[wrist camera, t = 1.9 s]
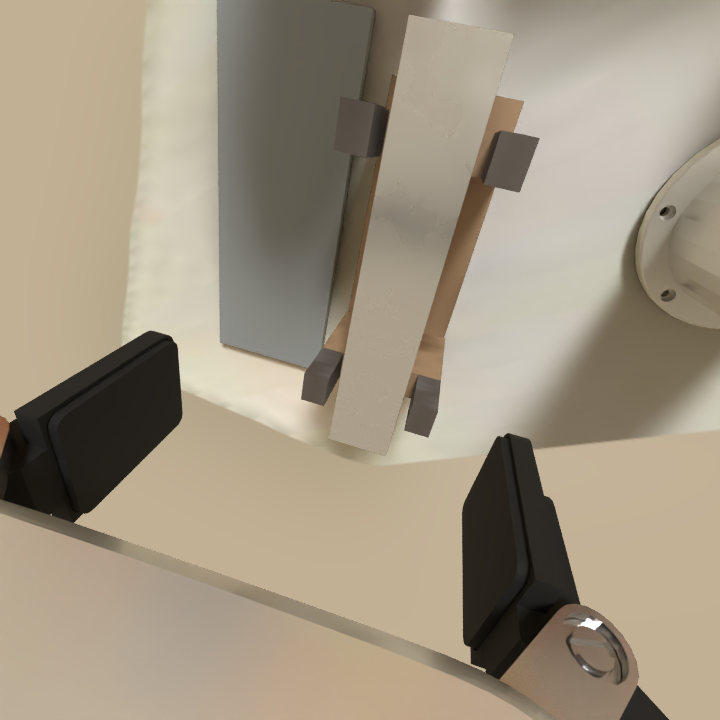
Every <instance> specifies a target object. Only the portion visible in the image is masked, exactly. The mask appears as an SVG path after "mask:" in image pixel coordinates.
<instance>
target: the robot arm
mask: <svg viewBox="0 0 720 720" xmlns="http://www.w3.org/2000/svg"><path fill="white" fill-rule="evenodd" d="M664 207H665V208H666V211H665V212H664V214H662V215H659V214H660V211H661V210H662V209H663V208H664ZM635 260H636V270H637V273H638V277H639V280H640V283H641V285H642V286H643V288H644V290H645V291H646V293H647V295H648V296H649V297H650V298H651V299H652V300H653V301H654V302H655V303H656V304H657V305H658V306H659V307H660V308H661V309H663V310H664V311H666V312H667V313H668V314H670V315H671V316H673V317H675V318H677V319H679V320H681V321H683V322H685V323H688V324H692V325H696V326H700V327H704V328H714V329H720V138H719V139H717V140H716V141H714V142H713V143H711V144H710V145H708V146H707V147H706V148H704V149H703V150H701V151H700V152H698V153H697V154H696V155H694V156H693V157H692V158H691V159H690V160H688V161H687V162H686V163H685V164H684V165H683V166H682V167H681V168H680V169H679V170H678V171H676V172H675V173H674V174H673V175H672V177H671V178H670V179H669V180H668V181H667V183H666V184H665V185H664V186H663V187H662V189H661V190H660V191H659V192H658V194H657V195H656V197H655V199H654V200H653V202H652V204H651V205H650V207H649V209H648V210H647V212H646V214H645V217H644V219H643V222H642V224H641V227H640V229H639V232H638V237H637V243H636V248H635ZM664 291H666V292H665V293H664V294H662V293H663V292H664ZM14 413H15V415H16V418H17V419H15V420H13V421H12V422H10V423H9V422H8V421H7V420H6V418H4V417H1V416H0V720H669V719H668V718H667V717H666V716H665V715H664V714H663V713H662V712H661V710H660V709H659V708H658V707H657V706H656V705H655V704H654V703H653V702H652V701H651V700H650V699H649V697H648V696H647V695H646V694H645V693H644V692H643V691H642V690H641V689H640V688H639V686H638V685H637V683H638V678H639V675H638V674H639V673H638V667H637V662H636V659H635V657H634V654H633V652H632V649H631V648H630V646H629V645H628V643H627V641H626V640H625V638H624V637H623V635H622V634H621V633H620V632H619V631H618V630H617V628H616V627H615V626H614V625H613V624H612V623H611V622H610V621H609V620H607V619H606V618H605V617H604V616H602V615H601V614H600V613H598V612H596V611H595V610H593V609H591V608H589V607H587V606H583V605H580V601H579V597H578V594H577V590H576V586H575V582H574V578H573V575H572V571H571V567H570V563H569V559H568V556H567V552H566V548H565V545H564V541H563V537H562V533H561V529H560V526H559V522H558V518H557V514H556V510H555V506H554V504H553V501H552V500H551V499H550V498H549V497H546V496H544V494H543V490H542V487H541V482H540V477H539V473H538V469H537V465H536V461H535V457H534V453H533V448H532V444H531V441H530V440H529V439H527V438H523V437H520V436H516V435H513V434H509V433H507V434H506V435H505V436H504V437H500V436H498V437H497V438H496V439H495V441H494V443H493V445H492V447H491V449H490V451H489V453H488V455H487V458H486V460H485V462H484V464H483V466H482V468H481V470H480V472H479V474H478V476H477V478H476V480H475V482H474V484H473V486H472V488H471V490H470V492H469V494H468V496H467V498H466V500H465V502H464V506H463V511H462V549H463V550H462V552H463V553H462V554H463V639H464V644H465V645H466V646H469V647H471V664H473V665H476V666H479V667H481V668H485V669H486V673H485V672H483V671H481V670H479V669H477V668H474V667H472V666H470V665H467V664H465V663H463V662H460V661H458V660H456V659H453V658H451V657H448V656H446V655H444V654H441V653H439V652H436V651H433V650H430V649H428V648H425V647H423V646H420V645H417V644H415V643H412V642H409V641H407V640H404V639H401V638H399V637H396V636H393V635H391V634H388V633H385V632H383V631H380V630H378V629H375V628H372V627H369V626H366V625H364V624H361V623H358V622H355V621H352V620H349V619H347V618H344V617H341V616H338V615H336V614H333V613H330V612H327V611H324V610H321V609H319V608H316V607H313V606H310V605H307V604H305V603H302V602H299V601H296V600H293V599H290V598H288V597H285V596H282V595H279V594H276V593H274V592H271V591H268V590H265V589H262V588H259V587H257V586H254V585H251V584H248V583H245V582H242V581H239V580H237V579H234V578H231V577H228V576H225V575H222V574H219V573H216V572H214V571H211V570H208V569H205V568H202V567H199V566H196V565H193V564H190V563H188V562H185V561H182V560H179V559H176V558H173V557H171V556H168V555H165V554H162V553H159V552H156V551H153V550H151V549H148V548H145V547H142V546H139V545H136V544H133V543H130V542H127V541H124V540H121V539H118V538H116V537H113V536H110V535H107V534H104V533H101V532H98V531H95V530H92V529H89V528H86V527H83V526H80V525H77V524H75V523H74V522H75V521H76V520H77V519H78V518H79V517H80V516H81V515H82V514H83V513H84V514H85V513H89V512H90V511H92V510H93V509H94V508H95V507H96V506H97V505H98V504H99V503H100V502H101V501H102V500H103V499H104V498H105V497H106V496H107V495H108V494H109V493H110V492H111V491H112V490H113V489H114V488H115V487H116V486H117V485H118V484H119V483H120V482H121V481H122V480H123V479H124V478H125V477H126V476H127V475H128V474H129V473H130V472H131V471H132V470H133V469H134V468H135V467H136V466H137V465H138V464H139V463H140V462H141V461H142V460H143V459H144V458H145V457H146V456H147V455H148V454H149V453H150V452H151V451H152V450H153V449H154V448H155V447H156V446H157V445H158V444H159V443H160V442H161V441H162V440H163V439H164V438H165V437H166V436H167V435H168V434H169V433H170V432H171V431H172V430H173V429H174V428H175V427H176V426H177V425H178V424H179V422H180V421H181V418H182V401H181V387H180V373H179V360H178V347H177V344H176V343H175V342H174V341H173V339H172V337H171V336H169V335H165V334H162V333H158V332H155V331H148V332H146V333H144V334H142V335H141V336H139V337H137V338H136V339H134V340H132V341H131V342H129V343H127V344H126V345H124V346H122V347H120V348H119V349H117V350H115V351H114V352H112V353H110V354H109V355H107V356H105V357H104V358H102V359H100V360H99V361H97V362H95V363H94V364H92V365H90V366H89V367H87V368H85V369H84V370H82V371H80V372H79V373H77V374H75V375H74V376H72V377H70V378H69V379H67V380H65V381H64V382H62V383H60V384H59V385H57V386H55V387H54V388H52V389H50V390H49V391H47V392H45V393H44V394H42V395H40V396H38V397H37V398H35V399H34V400H32V401H30V402H28V403H27V404H25V405H24V406H22V407H20V408H19V409H17V410H15V411H14ZM50 514H52V516H51V515H50Z"/></svg>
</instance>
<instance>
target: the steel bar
mask: <svg viewBox="0 0 720 720" xmlns="http://www.w3.org/2000/svg"><path fill="white" fill-rule="evenodd" d="M513 37H514V34H513V33H507V32H502V31H497V30H491V29H486V28H480V27H475V26H469V25H464V24H458V23H453V22H447V21H442V20H436V19H431V18H425V17H420V16H414V15H409V17H408V22H407V27H406V33H405V38H404V43H403V49H402V54H401V59H400V64H399V70H398V75H397V80H396V86H395V91H394V96H393V101H392V107H391V112H390V117H389V122H388V128H387V133H386V138H385V144H384V149H383V154H382V159H381V165H380V170H379V175H378V180H377V186H376V191H375V196H374V202H373V207H372V212H371V217H370V223H369V228H368V233H367V239H366V244H365V249H364V254H363V260H362V265H361V270H360V275H359V281H358V286H357V291H356V297H355V302H354V307H353V312H352V318H351V323H350V328H349V334H348V339H347V344H346V349H345V355H344V360H343V365H342V370H341V376H340V381H339V386H338V392H337V397H336V402H335V407H334V413H333V418H332V423H331V428H330V434H329V439H331V440H334V441H338V442H341V443H344V444H347V445H351V446H354V447H357V448H360V449H363V450H367V451H370V452H373V453H376V454H379V455H383V456H386V454H387V450H388V447H389V444H390V440H391V437H392V434H393V431H394V427H395V424H396V421H397V418H398V414H399V411H400V408H401V404H402V401H403V398H404V395H405V391H406V388H407V385H408V381H409V378H410V375H411V372H412V368H413V365H414V362H415V358H416V355H417V352H418V349H419V345H420V342H421V339H422V335H423V332H424V329H425V326H426V322H427V319H428V316H429V313H430V309H431V306H432V303H433V299H434V296H435V293H436V290H437V286H438V283H439V280H440V276H441V273H442V270H443V267H444V263H445V260H446V257H447V253H448V250H449V247H450V244H451V240H452V237H453V234H454V230H455V227H456V224H457V221H458V217H459V214H460V211H461V208H462V204H463V201H464V198H465V194H466V191H467V188H468V185H469V181H470V178H471V175H472V171H473V168H474V165H475V162H476V158H477V155H478V152H479V148H480V145H481V142H482V139H483V135H484V132H485V129H486V125H487V122H488V119H489V116H490V112H491V109H492V106H493V103H494V99H495V96H496V93H497V89H498V86H499V83H500V80H501V76H502V73H503V70H504V66H505V63H506V60H507V57H508V53H509V50H510V47H511V43H512V40H513Z"/></svg>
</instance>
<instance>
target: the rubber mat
mask: <svg viewBox="0 0 720 720" xmlns="http://www.w3.org/2000/svg"><path fill="white" fill-rule="evenodd" d="M374 17H375V11H374V9H373V8H370V7H364V6H359V5H353V4H348V3H342V2H337V1H331V0H217V58H218V170H219V281H220V343H223V344H227V345H230V346H234V347H237V348H241V349H244V350H247V351H251V352H254V353H258V354H261V355H264V356H268V357H271V358H275V359H278V360H282V361H285V362H288V363H292V364H295V365H299V366H302V367H306V368H309V366H310V365H311V363H312V362H313V360H314V359H315V358H316V356H317V355H318V353H319V352H320V350H321V349H322V347H323V346H324V341H325V335H326V328H327V322H328V315H329V309H330V302H331V296H332V289H333V283H334V276H335V270H336V263H337V257H338V250H339V244H340V237H341V231H342V224H343V218H344V212H345V205H346V199H347V192H348V186H349V179H350V173H351V166H352V160H353V155H351V154H347V153H343V152H338V151H334V142H335V134H336V127H337V119H338V111H339V103H340V96H341V97H346V98H350V99H355V100H360V101H362V95H363V88H364V82H365V75H366V69H367V62H368V56H369V49H370V43H371V36H372V30H373V24H374Z"/></svg>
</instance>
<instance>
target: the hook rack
mask: <svg viewBox="0 0 720 720" xmlns="http://www.w3.org/2000/svg"><path fill="white" fill-rule="evenodd" d="M396 80H397V76H395V75H392V78H391V84H390V89H389V95H388V100H387V106H386V108H384V107H381V106H379V105H377V104H374V103H369V102H365V101H360V100H355V99H350V98H346V97H341V96H340V103H339V111H338V119H337V127H336V134H335V142H334V151H338V152H343V153H347V154H351V155H356V156H360V157H365V158H368V157H376V156H377V160H376V165H375V171H374V176H373V182H372V187H371V193H370V198H369V204H368V209H367V214H366V220H365V225H364V231H363V236H362V242H361V247H360V253H359V258H358V263H357V269H356V274H355V280H354V285H353V291H352V296H351V302H350V307H349V312H347V313H346V315H345V316H344V317H343V319H342V320H341V322H340V323H339V325H338V326H337V327H336V329H335V330H334V332H333V333H332V335H331V336H330V337H329V339H328V340H327V342H326V343H325V345H324V346H323V347H322V349H321V350H320V352H319V353H318V355H317V356H316V358H315V359H314V360H313V362H312V363H311V365H310V366H309V368H308V369H307V370H306V372H305V374H304V381H303V389H302V397H301V399H302V400H306V401H309V402H312V403H315V404H319V405H322V406H324V405H325V403H326V401H327V399H328V397H329V395H330V393H331V392H332V390H333V388H334V386H335V384H336V382H337V380H338V379H339V377H340V376H341V370H342V365H343V360H344V355H345V349H346V344H347V339H348V334H349V328H350V323H351V318H352V312H353V307H354V302H355V297H356V291H357V286H358V281H359V275H360V270H361V265H362V260H363V254H364V249H365V244H366V239H367V233H368V228H369V223H370V217H371V212H372V207H373V202H374V196H375V191H376V186H377V180H378V175H379V170H380V165H381V159H382V154H383V149H384V144H385V138H386V133H387V128H388V122H389V117H390V112H391V107H392V101H393V96H394V91H395V86H396ZM523 103H524V101H519V100H514V99H509V98H504V97H499V96H495V99H494V103H493V106H492V109H491V112H490V116H489V119H488V122H487V125H486V129H485V132H484V135H483V139H482V142H481V145H480V148H479V152H478V155H477V158H476V162H475V165H474V168H473V171H472V175H471V178H470V181H469V185H468V188H467V191H466V194H465V198H464V201H463V204H462V208H461V211H460V214H459V217H458V221H457V224H456V227H455V230H454V234H453V237H452V240H451V244H450V247H449V250H448V253H447V257H446V260H445V263H444V267H443V270H442V273H441V276H440V280H439V283H438V286H437V290H436V293H435V296H434V299H433V303H432V306H431V309H430V313H429V316H428V319H427V322H426V326H425V329H424V332H423V335H422V339H421V342H420V345H419V349H418V352H417V355H416V358H415V362H414V365H413V368H412V372H411V375H410V378H409V381H408V385H407V388H406V391H405V395H404V396H405V397H409V398H411V401H410V405H409V410H408V415H407V420H406V424H405V429H404V430H405V431H408V432H412V433H415V434H418V435H421V436H425V437H429V434H430V431H431V429H432V426H433V423H434V421H435V418H436V415H437V413H438V403H439V393H440V383H441V373H442V363H443V353H444V343H445V338H444V336H445V333H446V330H447V327H448V324H449V321H450V318H451V315H452V312H453V309H454V306H455V303H456V301H457V298H458V295H459V292H460V289H461V286H462V283H463V280H464V277H465V274H466V271H467V268H468V265H469V262H470V259H471V256H472V253H473V250H474V247H475V244H476V242H477V239H478V236H479V233H480V230H481V227H482V224H483V221H484V218H485V215H486V212H487V209H488V206H489V203H490V200H491V197H492V194H493V191H494V188H495V187H497V188H502V189H506V190H511V191H515V192H520V190H521V187H522V184H523V182H524V179H525V176H526V174H527V171H528V168H529V166H530V163H531V160H532V157H533V155H534V152H535V149H536V147H537V144H538V141H539V139H540V138H536V137H531V136H527V135H522V134H517V133H513V132H514V129H515V127H516V124H517V121H518V118H519V115H520V112H521V109H522V106H523Z"/></svg>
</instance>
